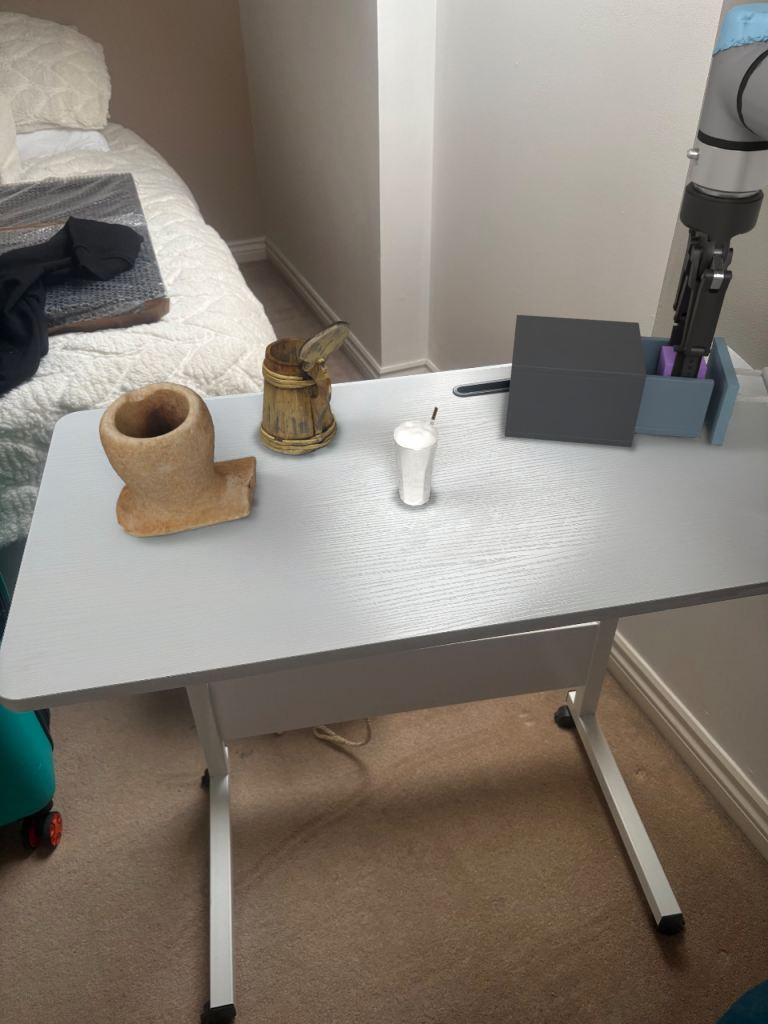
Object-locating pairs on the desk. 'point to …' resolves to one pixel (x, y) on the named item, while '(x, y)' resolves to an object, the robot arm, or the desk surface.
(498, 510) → the desk surface
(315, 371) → the wooden mug
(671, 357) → the cube
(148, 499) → the stone cup
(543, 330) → the cabinet
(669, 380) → the drawer
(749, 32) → the robot arm
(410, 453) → the milkshake
